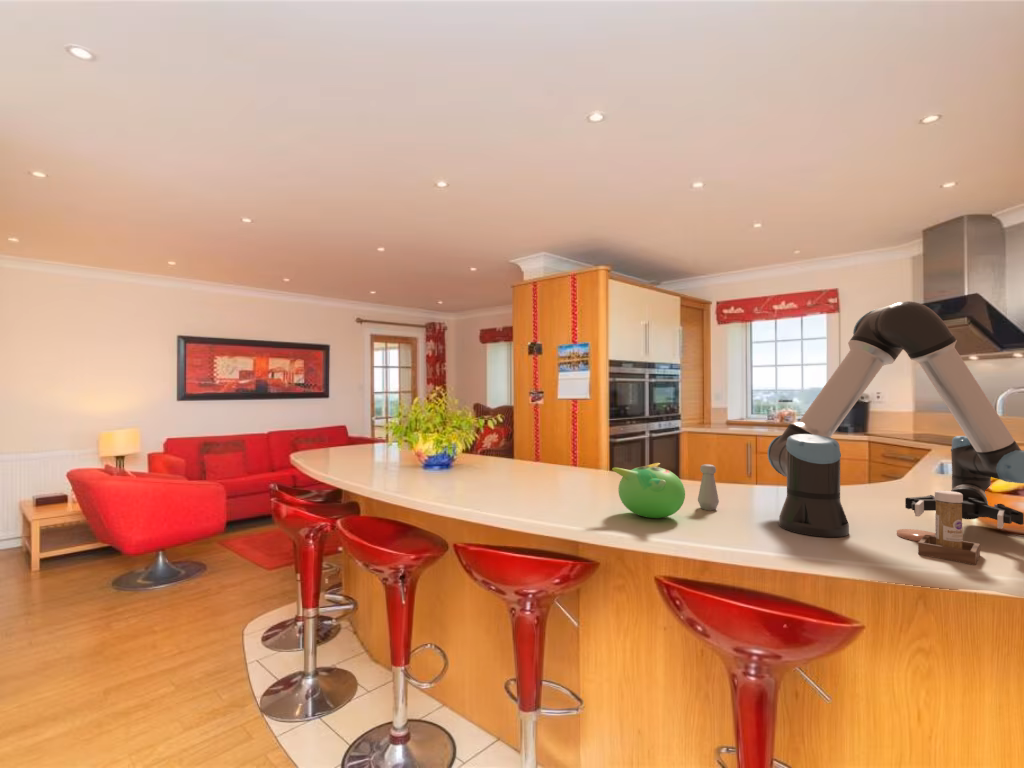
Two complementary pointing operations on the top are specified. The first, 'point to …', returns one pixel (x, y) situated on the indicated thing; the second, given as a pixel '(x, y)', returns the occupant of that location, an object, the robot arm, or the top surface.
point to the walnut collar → (949, 550)
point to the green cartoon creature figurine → (650, 491)
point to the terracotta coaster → (913, 534)
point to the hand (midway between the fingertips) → (956, 515)
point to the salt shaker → (708, 488)
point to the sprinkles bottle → (948, 519)
